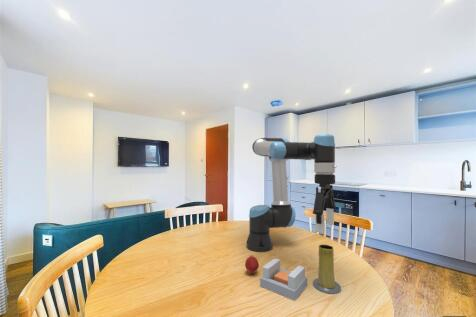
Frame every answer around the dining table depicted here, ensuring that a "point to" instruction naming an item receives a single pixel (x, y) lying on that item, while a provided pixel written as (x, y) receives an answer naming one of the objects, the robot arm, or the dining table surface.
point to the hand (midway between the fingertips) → (325, 228)
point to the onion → (251, 264)
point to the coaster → (325, 290)
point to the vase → (326, 267)
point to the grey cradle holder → (292, 290)
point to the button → (282, 277)
